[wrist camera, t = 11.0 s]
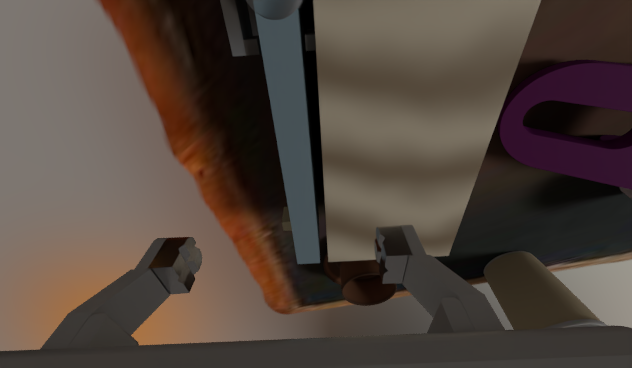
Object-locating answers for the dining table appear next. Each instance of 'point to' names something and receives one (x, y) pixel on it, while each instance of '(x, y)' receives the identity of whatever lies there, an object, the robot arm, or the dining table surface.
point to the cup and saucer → (359, 281)
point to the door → (291, 117)
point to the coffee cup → (535, 294)
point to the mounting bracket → (566, 150)
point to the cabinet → (402, 108)
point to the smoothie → (627, 192)
